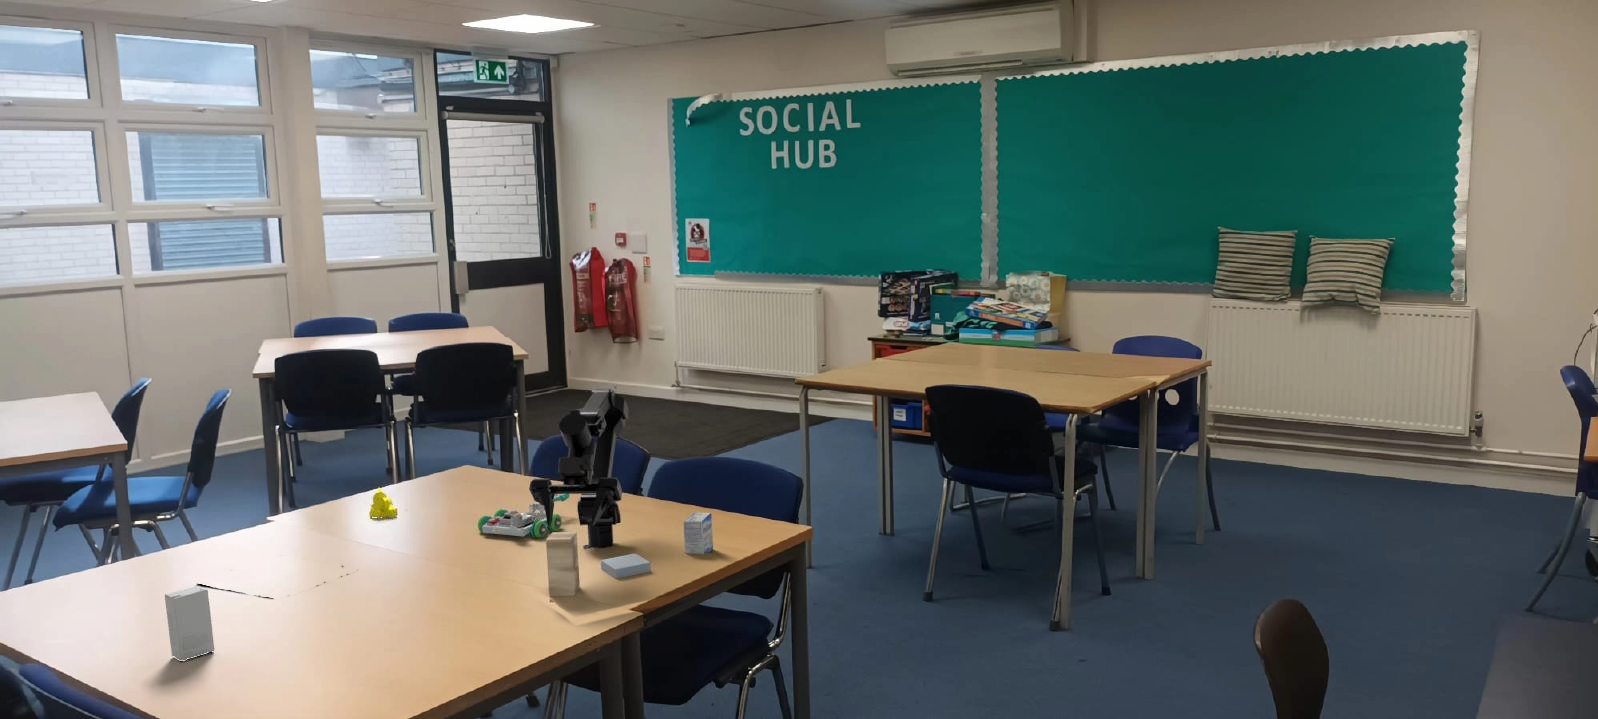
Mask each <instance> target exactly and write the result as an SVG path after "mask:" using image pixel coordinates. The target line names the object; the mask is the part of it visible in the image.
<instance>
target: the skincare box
mask: <svg viewBox="0 0 1598 719" xmlns="http://www.w3.org/2000/svg"><path fill="white" fill-rule="evenodd" d="M164 601H165V602H164V603H165V609H166V618H167V625H168V626H167V628H168V636H169V643H170V652H171V657H172V656H175V657H176V658H177V659H179V660H186V659H187V658H191V657H194V656H198V655H201V654H204V653H207V652H212V651H214V650H215V643H214V633H213V626H212V625H213V624H212V616H211V607H210V599H209V590H208V589H207V588H205V587H204V586H203V587H202V586H201V585H196V586H192V587H188V588H184V589H181V590H176V591H173V592H169V593H164ZM212 653H213V652H212Z"/></svg>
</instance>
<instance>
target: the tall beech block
mask: <svg viewBox="0 0 1598 719" xmlns="http://www.w3.org/2000/svg"><path fill="white" fill-rule="evenodd" d="M545 544H546V545H545V546H546V561H547V562H546V564H547V577H548V578H547V579H548V595H549V597H574V596H575V595H576V593H577V592H578V591H579V589H580V588H581V584H580V569H579V568H580V567H579V566H580V565H579V563H580V562H579V549H578V533H577V531H567V532H566V531H565V532H564V531H559V532H557V531H552V532H551V534H550V535H548V537H547V538H546V539H545ZM549 603H554V601H553V600H552V599H551V598H549Z"/></svg>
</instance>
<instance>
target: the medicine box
mask: <svg viewBox="0 0 1598 719" xmlns="http://www.w3.org/2000/svg"><path fill="white" fill-rule="evenodd" d="M712 518H713V517H712V513H711V512H694V513H693V514H691V515H690V516H689V517H688V518H687V519H686V520H685V521H684V522H683V538H684V540H683V541H684V553H685V554H695V555H696V554H697V555H704V554H705V553H708V554H710V552H711V551H712V550H713V549H714V538H713V537H714V536H713V535H714V534H713V521H712V520H713V519H712Z"/></svg>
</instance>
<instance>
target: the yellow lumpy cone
mask: <svg viewBox="0 0 1598 719" xmlns="http://www.w3.org/2000/svg"><path fill="white" fill-rule="evenodd" d="M393 504H394V503H393V500H392V499H391V497H388V495H387V494H386V493H385V492H383V491H382V490H381V488H380V487H378V488H377V491H376V492H375V493H374V494H373V496H372V504H371V505H370V511H369V512H368V513H369V518H370V517H377V518H381V517H385V518H388V517H394V518H396V516H397V515H398V514H396V513H398V508H397V507H395V506H394V505H393Z"/></svg>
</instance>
